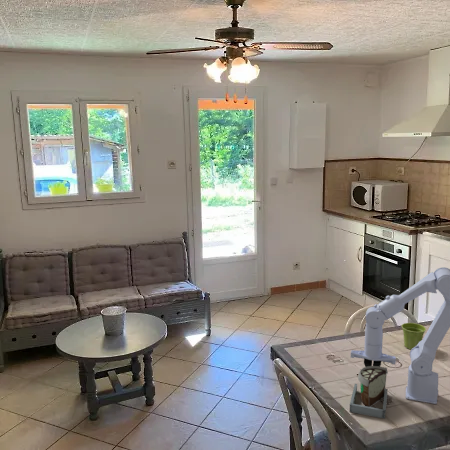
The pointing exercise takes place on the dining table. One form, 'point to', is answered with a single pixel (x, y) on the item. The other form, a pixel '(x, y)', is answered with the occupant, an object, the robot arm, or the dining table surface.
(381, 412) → the bay
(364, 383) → the food container
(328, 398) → the dining table surface
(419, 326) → the plant pot
